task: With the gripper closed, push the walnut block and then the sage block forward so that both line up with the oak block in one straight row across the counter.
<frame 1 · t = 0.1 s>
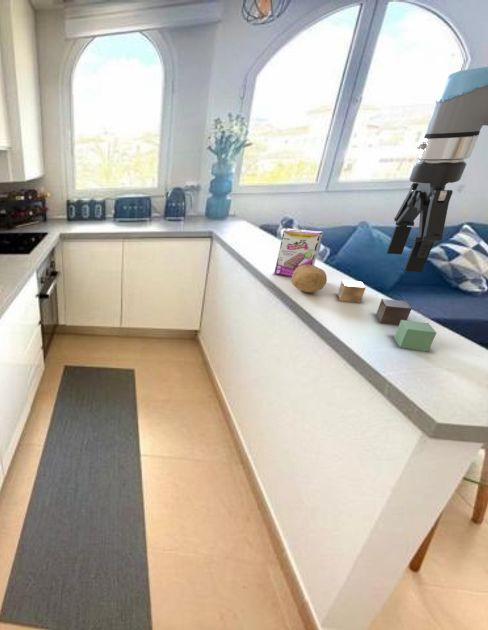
hand: (402, 262, 79), 19 cm above the table, tool pointing down, fingers open, 13 cm apart
walnut block: (389, 320, 93), on the table
oak block: (348, 298, 106), on the table
sage block: (410, 344, 82), on the table
candy bar box: (292, 275, 127), on the table
potato: (305, 290, 114), on the table
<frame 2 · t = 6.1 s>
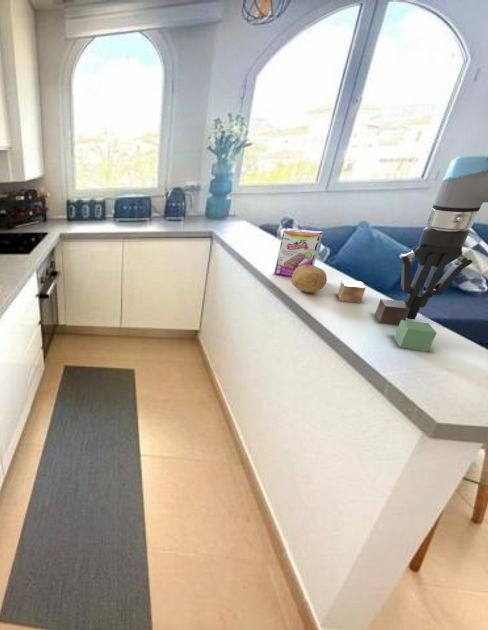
hand: (409, 317, 91), 2 cm above the table, tool pointing down, fingers closed
walnut block: (388, 320, 93), on the table, touching gripper
everything else where it was.
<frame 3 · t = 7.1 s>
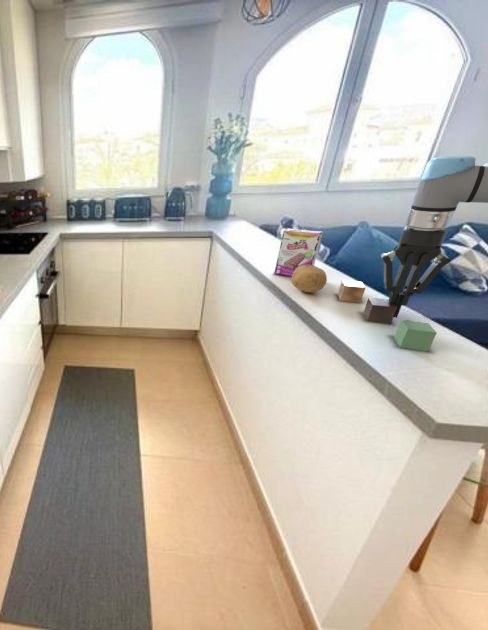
hand: (392, 315, 92), 2 cm above the table, tool pointing down, fingers closed
walnut block: (376, 318, 94), on the table, touching gripper
everything else where it was.
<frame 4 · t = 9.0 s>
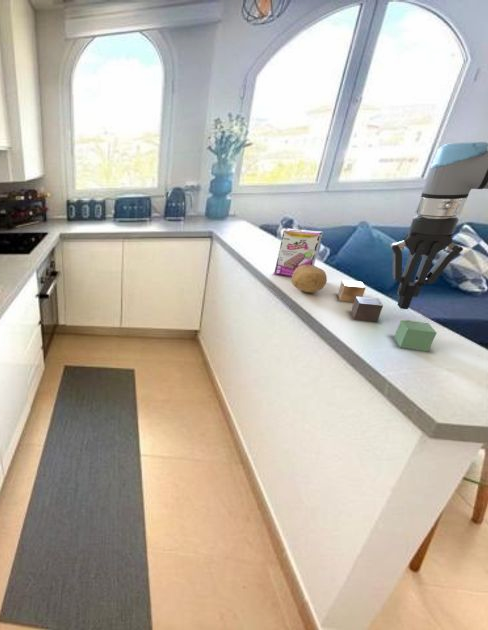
hand: (402, 306, 90), 4 cm above the table, tool pointing down, fingers closed
walnut block: (363, 317, 96), on the table
everything else where it was.
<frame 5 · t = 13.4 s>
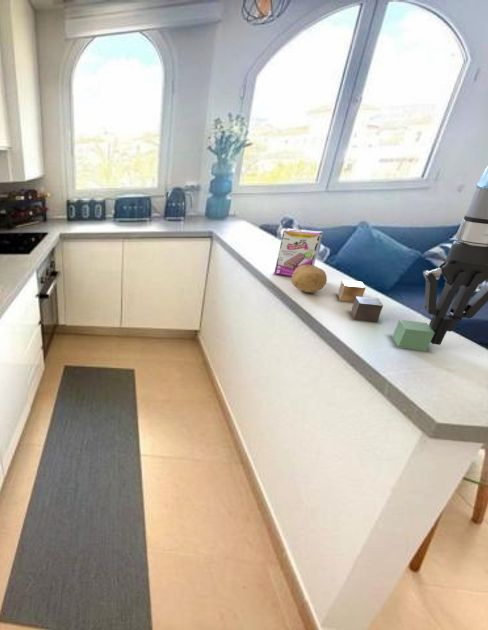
hand: (434, 341, 80), 2 cm above the table, tool pointing down, fingers closed
sage block: (408, 344, 83), on the table, touching gripper
everything else where it was.
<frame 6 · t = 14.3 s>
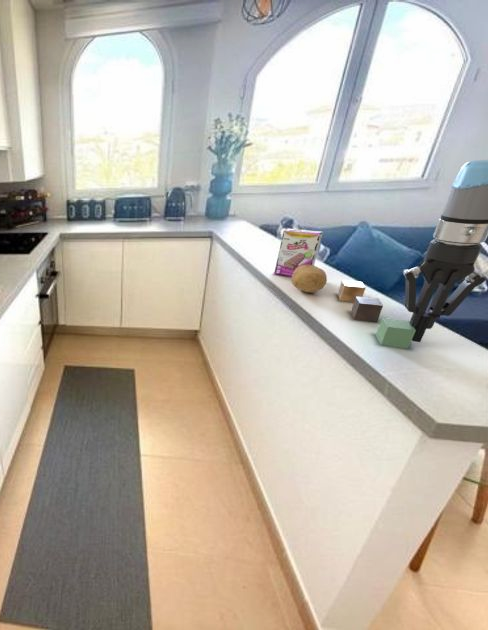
hand: (414, 338, 82), 2 cm above the table, tool pointing down, fingers closed
sage block: (391, 341, 84), on the table, touching gripper
everything else where it was.
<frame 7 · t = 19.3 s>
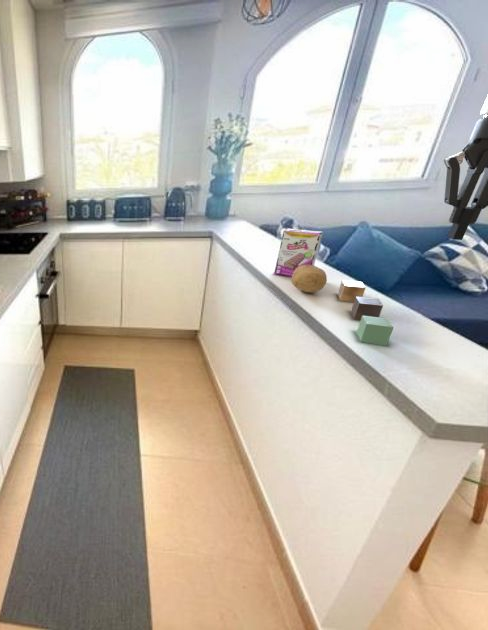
hand: (454, 238, 76), 24 cm above the table, tool pointing down, fingers closed
sage block: (370, 338, 86), on the table
everything else where it was.
at the end: walnut block 1.3 cm from the target spot on the table beside the oak block, on the table; sage block 0.5 cm from the target spot on the table beside the oak block, on the table; oak block moved 0.0 cm from its start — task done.
